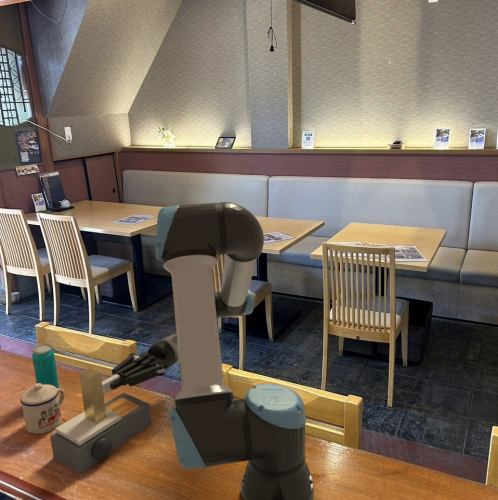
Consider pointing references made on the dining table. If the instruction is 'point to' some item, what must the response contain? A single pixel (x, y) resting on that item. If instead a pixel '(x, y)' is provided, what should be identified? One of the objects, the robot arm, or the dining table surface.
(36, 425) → the teacup with lid
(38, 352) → the beverage can
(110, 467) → the dining table surface
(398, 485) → the dining table surface
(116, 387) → the robot arm
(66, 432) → the sliding cover
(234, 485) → the dining table surface
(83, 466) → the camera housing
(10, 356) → the dining table surface
